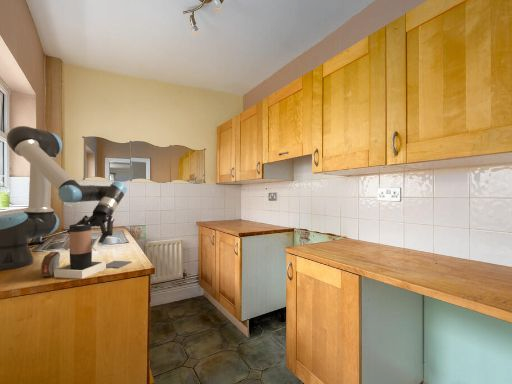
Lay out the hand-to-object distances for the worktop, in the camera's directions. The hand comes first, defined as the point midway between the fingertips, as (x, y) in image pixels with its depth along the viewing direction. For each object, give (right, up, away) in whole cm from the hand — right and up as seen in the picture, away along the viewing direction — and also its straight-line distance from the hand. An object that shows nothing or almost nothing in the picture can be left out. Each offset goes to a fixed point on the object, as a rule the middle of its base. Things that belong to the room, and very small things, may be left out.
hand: (79, 248), depth 105 cm
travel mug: (0, -10, +1) cm, 11 cm away
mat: (+9, -10, +12) cm, 18 cm away
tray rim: (0, -10, +1) cm, 10 cm away
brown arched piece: (-12, -11, +1) cm, 16 cm away
